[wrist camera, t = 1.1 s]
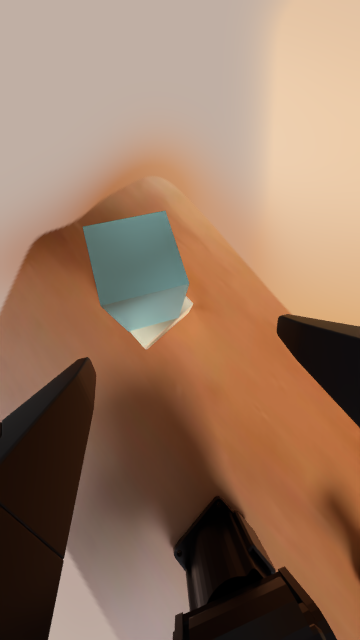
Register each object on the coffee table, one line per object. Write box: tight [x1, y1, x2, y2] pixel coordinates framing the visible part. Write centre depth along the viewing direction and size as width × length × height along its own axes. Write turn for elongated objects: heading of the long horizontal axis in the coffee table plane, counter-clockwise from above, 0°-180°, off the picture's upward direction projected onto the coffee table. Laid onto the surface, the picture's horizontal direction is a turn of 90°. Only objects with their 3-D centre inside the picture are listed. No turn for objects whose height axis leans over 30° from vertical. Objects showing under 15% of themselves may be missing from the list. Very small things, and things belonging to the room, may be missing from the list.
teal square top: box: [83, 211, 189, 332], centre depth 17 cm, size 5×5×9 cm
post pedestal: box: [130, 296, 193, 350], centre depth 21 cm, size 7×7×7 cm
